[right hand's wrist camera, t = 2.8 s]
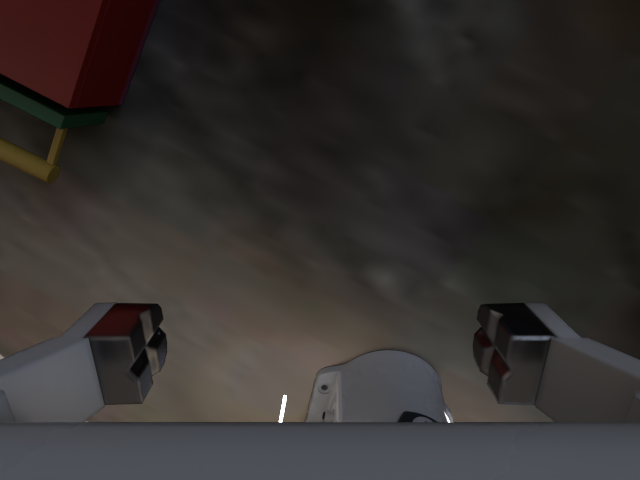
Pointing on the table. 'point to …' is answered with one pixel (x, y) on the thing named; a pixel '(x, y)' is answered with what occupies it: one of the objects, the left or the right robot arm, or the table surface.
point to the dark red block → (74, 47)
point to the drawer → (50, 114)
